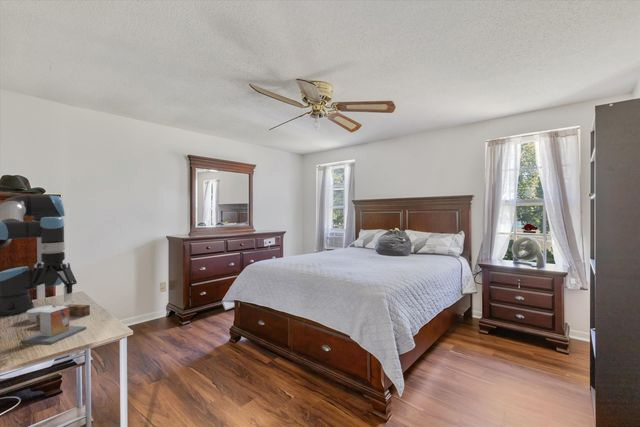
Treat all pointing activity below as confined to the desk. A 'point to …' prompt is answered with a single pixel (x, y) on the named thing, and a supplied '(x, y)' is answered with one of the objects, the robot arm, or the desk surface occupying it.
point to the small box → (54, 321)
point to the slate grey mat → (51, 340)
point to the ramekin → (37, 312)
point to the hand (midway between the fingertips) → (54, 300)
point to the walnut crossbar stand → (73, 311)
